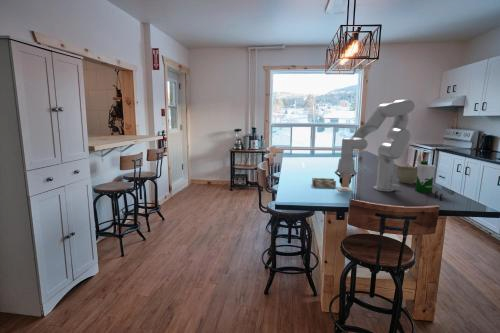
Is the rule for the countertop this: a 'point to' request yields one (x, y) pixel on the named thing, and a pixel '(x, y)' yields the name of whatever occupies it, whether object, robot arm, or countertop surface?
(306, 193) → the countertop surface
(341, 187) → the tile pad
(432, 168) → the milk carton
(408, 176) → the planter bowl
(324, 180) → the shelf bay
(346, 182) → the blank block
